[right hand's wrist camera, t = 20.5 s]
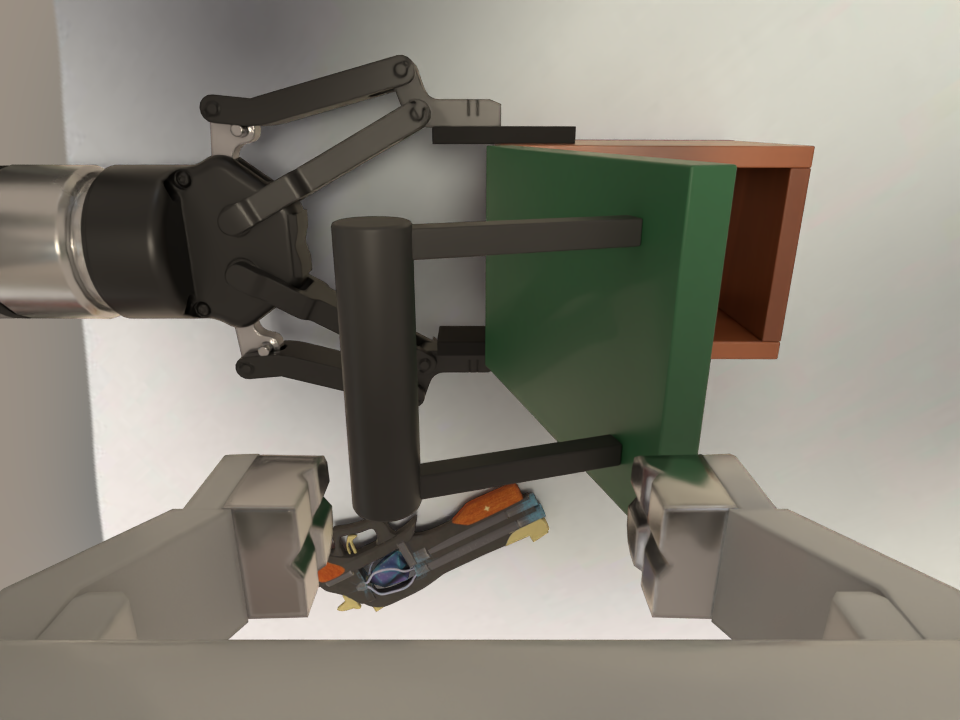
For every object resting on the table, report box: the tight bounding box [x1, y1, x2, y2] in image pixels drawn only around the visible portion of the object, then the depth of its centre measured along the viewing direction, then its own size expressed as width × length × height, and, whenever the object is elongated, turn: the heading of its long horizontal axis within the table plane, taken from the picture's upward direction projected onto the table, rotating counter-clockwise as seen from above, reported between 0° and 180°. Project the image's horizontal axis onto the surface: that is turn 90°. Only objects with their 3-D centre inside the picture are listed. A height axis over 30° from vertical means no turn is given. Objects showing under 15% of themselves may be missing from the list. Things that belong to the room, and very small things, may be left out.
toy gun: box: [318, 483, 549, 612], centre depth 44 cm, size 3×19×10 cm
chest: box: [495, 140, 815, 359], centre depth 33 cm, size 13×10×10 cm
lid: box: [331, 145, 737, 522], centre depth 21 cm, size 14×10×9 cm
